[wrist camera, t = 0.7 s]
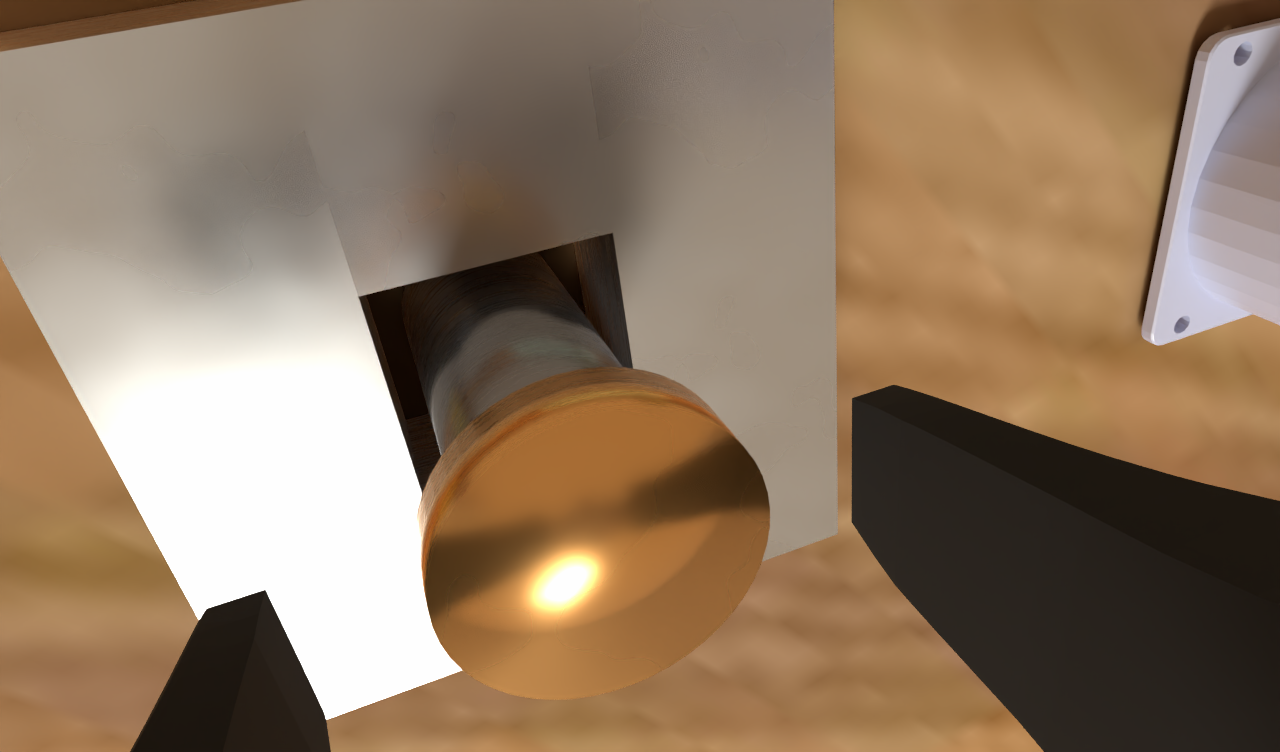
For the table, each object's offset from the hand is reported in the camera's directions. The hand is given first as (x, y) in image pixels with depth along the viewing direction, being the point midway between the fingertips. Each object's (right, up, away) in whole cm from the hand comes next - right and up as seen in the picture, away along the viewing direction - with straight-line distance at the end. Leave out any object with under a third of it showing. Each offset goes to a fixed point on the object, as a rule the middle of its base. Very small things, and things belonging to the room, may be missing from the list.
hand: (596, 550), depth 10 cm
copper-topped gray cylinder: (-3, +3, +6) cm, 8 cm away
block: (-3, +3, +6) cm, 8 cm away
